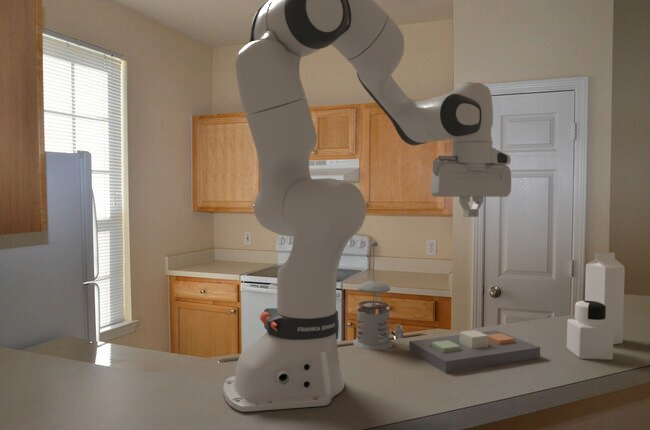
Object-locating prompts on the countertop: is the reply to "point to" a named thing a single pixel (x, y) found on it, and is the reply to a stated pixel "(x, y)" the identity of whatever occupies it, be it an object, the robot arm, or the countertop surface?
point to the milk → (607, 289)
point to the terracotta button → (500, 339)
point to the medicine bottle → (590, 332)
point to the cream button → (473, 339)
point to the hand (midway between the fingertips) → (470, 216)
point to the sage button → (445, 346)
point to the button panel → (473, 353)
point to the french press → (373, 317)
